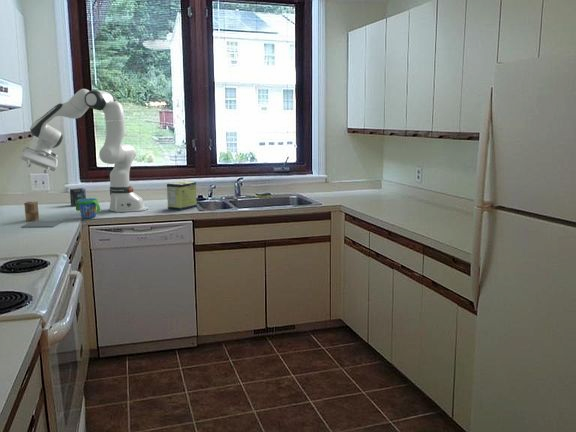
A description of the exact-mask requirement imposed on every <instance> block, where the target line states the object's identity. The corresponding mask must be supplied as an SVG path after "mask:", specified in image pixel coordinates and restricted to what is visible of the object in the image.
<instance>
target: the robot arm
mask: <svg viewBox="0 0 576 432" xmlns="http://www.w3.org/2000/svg"><path fill="white" fill-rule="evenodd" d="M89 109H93V110H97V111H99V112H101V111H103V113H104V118H105V119H104V120H105V133H106V135H105V139H104V140H105V141H104V143H103V146H102V147H101V148H100V150H99V153H98V155H99V159H100V161H101V162H102V163H103V164H104V163H105V164H108V165H109V164H110V165H114V166H113V169H112V170H111V171H110V173H109V196H110V202H109V203H110V204H109V208H108V210H109V211H110V212H115V213H122V212H123V213H124V212H127V213H128V212H143V211H146V210H148V206H147V205H145V203H144V199H143V197H141V196H139V195H138V194H137V193H136V192H134V186H131V185H130V184H131V183H130V170H131V166H132V164H133V161H134V160H135V158H136V157H137V151H136V148H135V147H134V146H133V145H132V144H127V143H122V142H123V139H124V137H125V136H126V134H127V128H126V118H125V117H126V116H125V111H124V108H123V105H122V104H121V103H120V102H118V101H116V97H115V95H114V94H113V93H112V92H109V91H105V90H100V89H99V90H98V89H97V90H95V89H93V90H89V89H87V88H80V89H79V90H78V91H77V92H76V93H74V95H72V96H71V98H70V99H68V101H66V102H63V103H57V104H56V105H55V106H53V107H52V108H51V109H49V111H47V112H46V113H45V114H43V116H41V117H39V118H37V120H35V121H34V122H33V123H32V124H31V126H30V129H29V130H30V133H31V135H32V136H33V137H35V138H37V140H36V145H35V148H33V149H32V148H29V147H28V146H27V147H23V149H22V154H21V157H20V159H21V160H23V161H25V162H26V164H27V166H26V167H27V168H30V167H31V166H32V164H33V165H36V166H39V167H41V168H44V170H43V173H44V174H47V173H48V172H49V171H52V172H55V171H57V168H58V163H59V161H58V157H59V156H58V154H57V153H55V152H54V151H52V149H55V148H57V147H59V146H61V144H62V141H63V133H62V132H61V131H60V130H58V128H55V127H53V126H52V125H50V124H48V123H49V122H51V121H52V120H54V118H56V117H64V118H68V119H75V120H76V119H79V118H82V116H84V114H85V113H86V112H87V111H88V110H89Z"/></svg>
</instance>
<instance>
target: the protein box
mask: <svg viewBox="0 0 576 432" xmlns="http://www.w3.org/2000/svg"><path fill="white" fill-rule="evenodd" d="M166 192H167V194H166V195H167V196H166V197H167V199H166V200H167V210H175V211H184V210H188V209H193V208H197V205H198V204H197V182H196V181H183V180H181V181H176V182H170V183H166Z"/></svg>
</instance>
